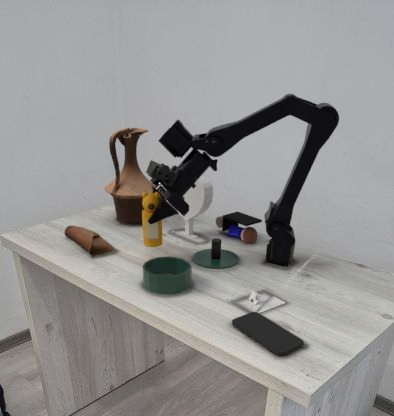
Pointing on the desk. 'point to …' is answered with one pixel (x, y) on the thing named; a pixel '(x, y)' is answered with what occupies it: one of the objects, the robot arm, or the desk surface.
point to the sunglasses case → (89, 240)
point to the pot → (167, 283)
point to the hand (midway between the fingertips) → (146, 219)
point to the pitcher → (128, 178)
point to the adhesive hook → (255, 297)
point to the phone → (268, 333)
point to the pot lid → (215, 257)
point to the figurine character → (232, 228)
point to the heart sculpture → (196, 204)
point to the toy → (150, 231)
